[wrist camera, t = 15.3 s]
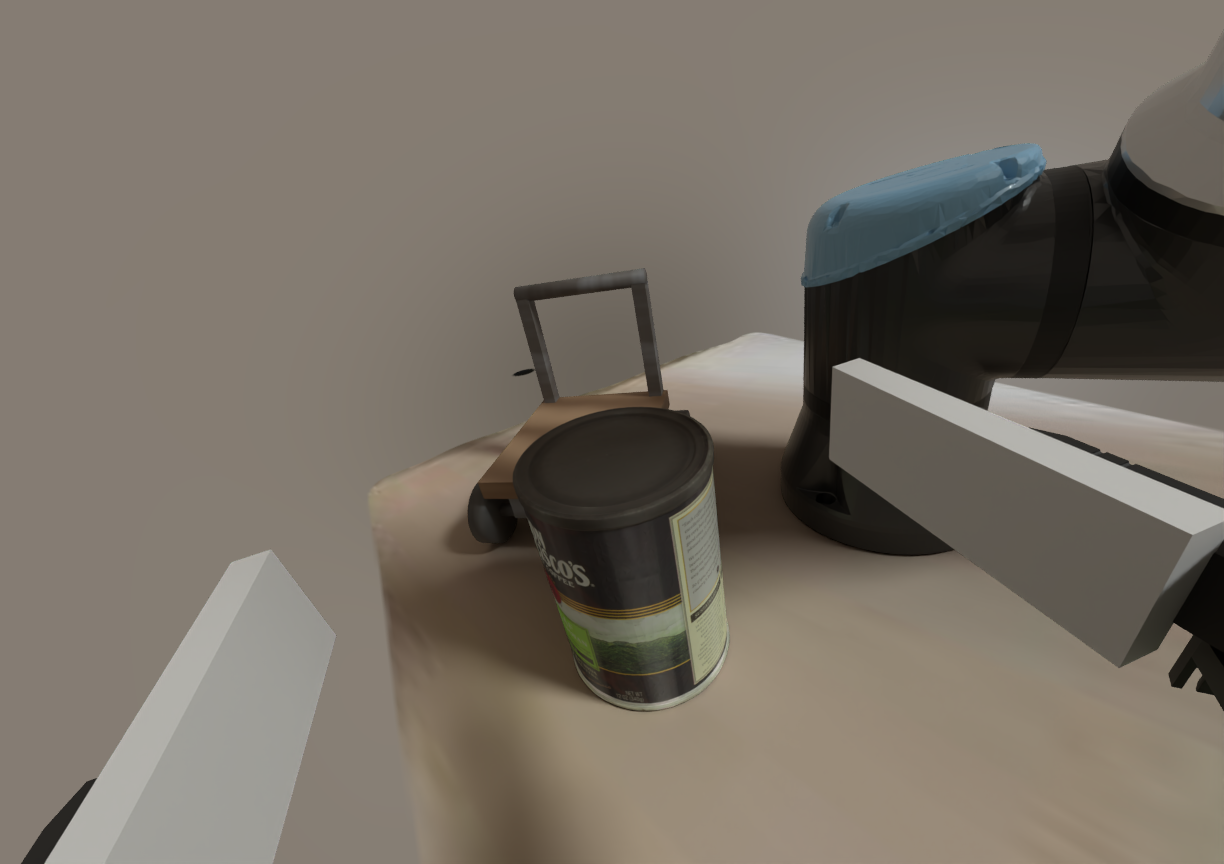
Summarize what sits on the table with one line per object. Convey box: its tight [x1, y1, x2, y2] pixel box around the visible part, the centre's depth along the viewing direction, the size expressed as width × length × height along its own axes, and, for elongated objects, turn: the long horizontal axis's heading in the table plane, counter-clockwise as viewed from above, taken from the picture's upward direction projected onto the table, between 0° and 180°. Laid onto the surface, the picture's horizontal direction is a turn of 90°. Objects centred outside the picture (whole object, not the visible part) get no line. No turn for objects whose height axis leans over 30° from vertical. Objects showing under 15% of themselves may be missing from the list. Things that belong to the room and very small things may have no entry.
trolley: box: [468, 268, 690, 543], centre depth 40 cm, size 17×17×19 cm
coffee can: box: [512, 407, 729, 711], centre depth 27 cm, size 10×10×14 cm
